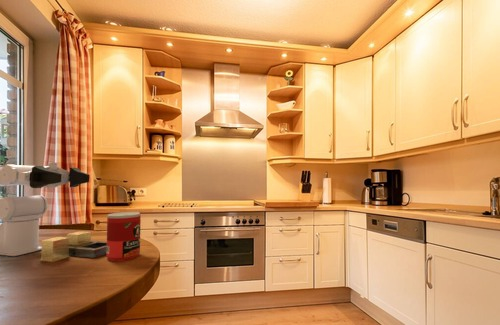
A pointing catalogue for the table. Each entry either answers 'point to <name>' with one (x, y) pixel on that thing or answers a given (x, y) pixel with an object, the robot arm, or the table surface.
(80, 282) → the table surface
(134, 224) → the canned food
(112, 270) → the table surface
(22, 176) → the robot arm
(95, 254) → the grey open box
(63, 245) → the honey wood cube
